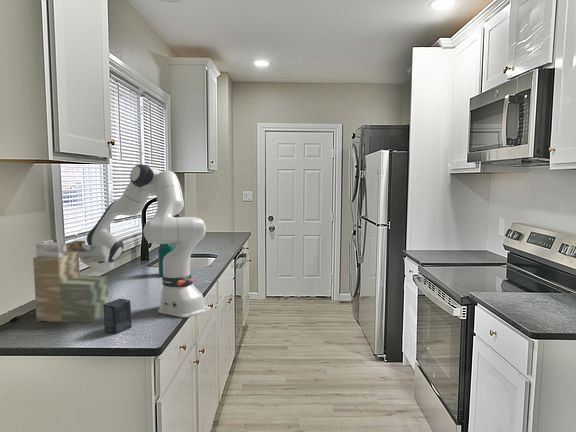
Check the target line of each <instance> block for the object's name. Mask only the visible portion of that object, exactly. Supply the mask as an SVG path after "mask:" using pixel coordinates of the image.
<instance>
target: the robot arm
mask: <svg viewBox="0 0 576 432" xmlns="http://www.w3.org/2000/svg"><path fill="white" fill-rule="evenodd" d="M129 177H130V181H129V183H128V185H127V186H126V187H125V190H124V191H123V193H122V195H121V196H120V198H119V199H117V200H114V201H112V202H111V203H110V204H109V206H108V207H107V208H106V209H105V211H104V212H103V214H102V216H101V217H100V218H99V220H98V221H97V223H96V224H95V226H94V227H92V229H91V230H90V231H89V232H88V233H87V236H86V243H87V244H86V243H85V244H84V243H80V247H81V248H83V249H80V250H76V251H73V252H79V261H81V262H82V263H83V264H85V266H87V267H90V268H91V269H92V270H94V271H95V272H99V273H108V272H110V271H111V270H112V269H113V268H114V265H115V261H117V260H118V259H119V258H120V257H121V255H122V254H123V252H124V246H125V245H124V241H123V240H121V239H120V238H118V237H117V236H115V235H113V234H112V233H110V232H108V228H110V227H109V226H110V225H111V224H112V222H113V221H114V220H115V218H116V217H117V216H121V215H122V216H129V217H130V216H136V215H138V214H140V213H141V212H142V211H143V209H144V207H145V204H146V202H147V201H148V198H149V197H150V195H151V194H155V195H156V202H157V203H156V204H157V209H156V212H155V213H154V216H153V217H152V218H150V219H148V220H147V221H146V223H144V227H143V237H144V238H145V240H146V241H147V242H148V243H149V244H153V245H154V244H156V245H160V244H171V245H172V244H176V245H175V247H176V248H175V249H174V250H173V251H171V252H169V253H168V254H166V255H165V257H164V258H163V276H162V277H161V283H162V290H161V292H160V301H159V308H158V310H157V313H159V314H163V315H167V316H174V317H177V318H192V317H193V318H194V317H197V316H200V315H204V314H206V313H208V312H209V311H210V310H211V307H209V306H208V305H206V304H205V298H204V296H203V293H202V292H200V291H199V290H198V288H197V287H196V286H195V285H194V281H195V280H194V279H195V278H194V277H192V275H191V257H192V256H191V255H192V253H193V250H194V249H195V247H196V246H197V244H198V243H199V242H200V241H202V240H203V239H204V238H205V236H206V232H207V226H206V223H205V221H204V220H203V219H202V218H200V217H193V216H180V217H179V216H177V217H176V215H179V213H181V212H182V210H183V209H184V206H185V201H184V197H183V191H182V186H181V184H180V180H179V177H178V176H177V174H176V173H175V172H173V171H171V170H162V171H161V170H159V169H158V168H154V167H152V166H149V165H146V164H140V163H139V164H136V165H135V166H134V167H133V168H132V169H131V171H130V175H129Z"/></svg>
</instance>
